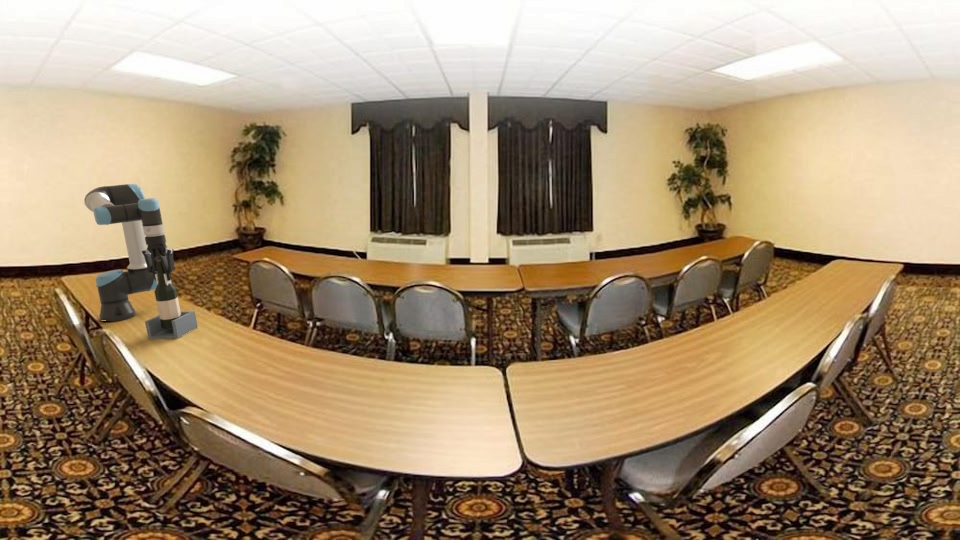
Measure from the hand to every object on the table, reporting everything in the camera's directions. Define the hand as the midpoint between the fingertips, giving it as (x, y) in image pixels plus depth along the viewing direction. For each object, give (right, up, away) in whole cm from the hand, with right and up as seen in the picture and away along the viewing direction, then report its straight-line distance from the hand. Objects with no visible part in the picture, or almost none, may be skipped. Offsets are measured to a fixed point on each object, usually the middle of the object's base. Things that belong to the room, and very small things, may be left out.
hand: (164, 287), depth 240 cm
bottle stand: (+1, -20, +5) cm, 21 cm away
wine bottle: (+1, -17, +4) cm, 18 cm away
